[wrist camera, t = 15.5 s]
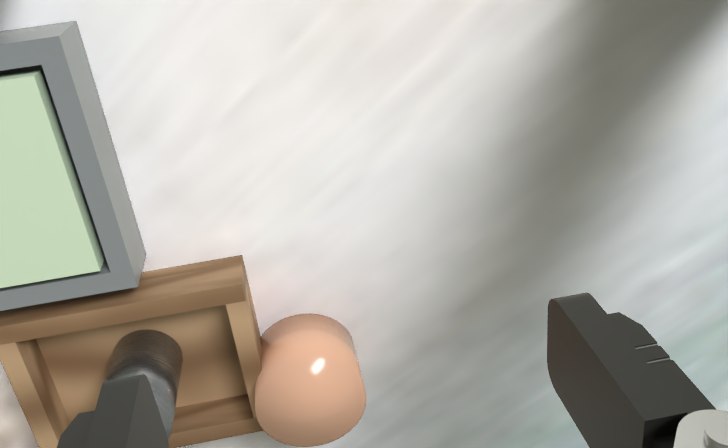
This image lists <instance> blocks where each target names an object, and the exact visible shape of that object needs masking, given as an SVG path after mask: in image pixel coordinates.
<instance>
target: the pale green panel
mask: <svg viewBox="0 0 728 448" xmlns="http://www.w3.org/2000/svg"><path fill="white" fill-rule="evenodd" d="M103 262H104V259H103V256H102V253H101V250H100V247H99V244H98V241H97V238H96V235H95V232H94V229H93V226H92V223H91V220H90V217H89V214H88V211H87V208H86V205H85V202H84V199H83V196H82V193H81V190H80V187H79V184H78V181H77V178H76V175H75V172H74V169H73V166H72V163H71V160H70V157H69V154H68V151H67V148H66V145H65V142H64V139H63V136H62V133H61V130H60V127H59V124H58V121H57V118H56V115H55V112H54V109H53V106H52V103H51V100H50V97H49V94H48V91H47V88H46V85H45V82H44V79H43V76H42V73H41V70H35V71H28V72H21V73H15V74H8V75H1V76H0V288H4V287H10V286H16V285H22V284H28V283H33V282H39V281H45V280H51V279H57V278H62V277H68V276H74V275H80V274H85V273H91V272H97V271H100V270H101V267H102V265H103Z"/></svg>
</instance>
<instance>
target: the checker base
mask: <svg viewBox="0 0 728 448" xmlns="http://www.w3.org/2000/svg"><path fill="white" fill-rule="evenodd" d="M35 70H41V73H42V76H43V79H44V82H45V85H46V88H47V91H48V94H49V97H50V100H51V103H52V106H53V109H54V112H55V115H56V118H57V121H58V124H59V127H60V130H61V133H62V136H63V139H64V142H65V145H66V148H67V151H68V154H69V157H70V160H71V163H72V166H73V169H74V172H75V175H76V178H77V181H78V184H79V187H80V190H81V193H82V196H83V199H84V202H85V205H86V208H87V211H88V214H89V217H90V220H91V223H92V226H93V229H94V232H95V235H96V238H97V241H98V244H99V247H100V250H101V253H102V256H103V259H104V262H103V265H102V267H101V270H100V271H97V272H91V273H85V274H80V275H74V276H68V277H62V278H57V279H51V280H45V281H39V282H33V283H28V284H22V285H16V286H10V287H4V288H0V311H3V310H9V309H15V308H20V307H26V306H32V305H37V304H43V303H49V302H54V301H60V300H66V299H72V298H77V297H83V296H89V295H94V294H100V293H106V292H111V291H117V290H123V289H129V288H134V287H138V285H139V281H140V277H141V273H142V269H143V265H144V261H145V257H146V252H145V249H144V246H143V242H142V239H141V235H140V232H139V229H138V225H137V222H136V219H135V215H134V212H133V209H132V205H131V202H130V199H129V195H128V192H127V189H126V185H125V182H124V179H123V175H122V172H121V169H120V165H119V162H118V159H117V155H116V152H115V149H114V145H113V142H112V139H111V135H110V132H109V129H108V125H107V122H106V119H105V115H104V112H103V109H102V105H101V102H100V99H99V95H98V92H97V89H96V85H95V82H94V79H93V75H92V72H91V69H90V65H89V62H88V59H87V55H86V52H85V49H84V45H83V42H82V39H81V35H80V32H79V29H78V25H77V22H76V21H72V22H65V23H58V24H51V25H44V26H37V27H30V28H23V29H16V30H9V31H2V32H0V76H1V75H8V74H15V73H21V72H28V71H35Z"/></svg>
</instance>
